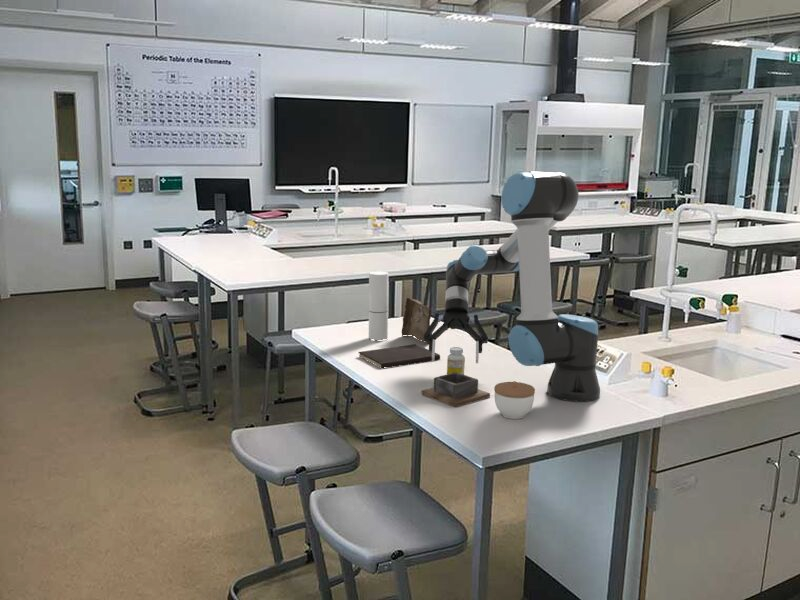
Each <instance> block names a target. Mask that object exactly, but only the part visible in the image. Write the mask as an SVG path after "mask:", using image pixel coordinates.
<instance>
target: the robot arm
mask: <svg viewBox="0 0 800 600" xmlns="http://www.w3.org/2000/svg"><path fill="white" fill-rule="evenodd" d="M579 194H580V193H579V188H578V185H577V184H576V182H575V180H574V179H573V178H572V177H571V176H570V175H568V174H566V173H564V172H560V171H522V172H521V171H519V172H516V173H512V174H511V175H510V176H509V177H508V178H507V180H506V182H504V185H503V187H502V193H501V206H502V208H503V210H504V212H505V213H506V214H508V215H509V216H510V220H511V223H512V224H513V225H514V226H515V227H516V230H515V231H514V232H513V233H512V234H510V236H509V237H508V238H507V240H505V242H504V243H503V244H502V245H501V246H500V247H499V248H498V249H493V250H492V249H491V250H490V249H488V250H485V249H484V248H483V246H478V245H476V244H475V245H470V246H469V247H467V248H466V250H464V251H463V252H462V254H461V256H460V257H459V258H458V259H455V260H452V261H449V262H448V264H447V266H446V271H445V294H444V295H445V296H444V297H445V304H444V314H443V315H440V314H439V313H438V312H437V313H435V314H434V318H433V320H432V322H431V324H430V326H429V328H428V329H427V331H426V333H425V334H424V341H428V342H429V344H428V350H429V351H432V361H431V362H432V363H434V362H435V361H434V359H435V353H436V341H437V339H438V338H439V337H441V335H442V334H444V333H445V332H446V331H448V330H449V329H451V330H462V329H463V331H465V332H467V334H468V335H469V336H470V337H471V338H472V339H473V340H474V342H475V364H479V358H480V357H479V354H483V353H482V352H483V345H484V344H487V343H488V342H489V337H488V335H487V333H486V331H485V330H484V328H483V326H482V325H481V322H480V321H479V315H478V314H474V315H473V316H469V285H470V282H471V281H472V280H473V279H474V277H476V276H477V275H487V274H500V273H501V274H502V273H508V274H510V273H514V272H517V271H519V273H518V274H519V289H520V292H519V293H520V309H521V311H520V313H519V315H518V316H517V317H516V318H515V319H516V320H515V321H516V325H514V326H513V327H511V329H510V331H509V334H508V346H509V349H510V352H511V354H512V356H513V357H514V358H515V360H516V361H517V363H519V364H521V365H522V366H525V367H540V366H542V365H543V366H544V365H551V364H554V367H553V370H552V373H551V374H550V377H549V379H548V382H547V388H546V389H547V390H546V392H547V394H548V395H550V396H552V397H553V396H554V398H555V399H559V400H563V401H570V402H590V401H594V400H597V399H599V398H600V397H601V396H600V395H601V386H600V383H599V380H598V375H597V370H596V366H597V353H598V351H597V350H598V338H599V324H598V322H597V321H596V320H594V319H592V318H589V317H587V316H586V317H585V316H581V315H577V314H576V315H575V314H563V313H562V314H561V313H560V314H556V313H555V312H554V310H553V298H552V297H553V296H552V278H551V277H552V276H551V275H552V274H551V259H550V258H551V257H550V256H551V255H550V236H549V232H550V230H551V229H552V228H553V227H554V226H555V225H557V223H558V222H559V223H560V222H563V221H565V220H566V219H567V218H568V217H569V216H570V215H571V214H572V213H573V212H574V210H575V209H576V207H577V205H578V201H579ZM441 321H443V323H442V325H440V327H438V328H437V326H438V324H439V323H440V322H441ZM469 322H471V323H472V324H474V327H475V329H476V331H475V329H474V328H473V327H472V326H471V325H470V324H469ZM436 328H437V330H436ZM434 330H435V331H434ZM431 334H432V335H431ZM430 335H431V336H430Z"/></svg>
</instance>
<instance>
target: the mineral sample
mask: <svg viewBox="0 0 800 600" xmlns="http://www.w3.org/2000/svg"><path fill="white" fill-rule="evenodd" d="M404 308H405V309H404V311H403V317H402V327H401V337H402V336H403V335H412V336H415V337H416V338H417V339H419V340H422V341H421V342H423V341H424V334H425V333H426V331H427V329H428V328H429V326H430V325H431V324H430V322H431V317H432V316H431V314H432V309H431V308H429V306H426V305H425V304H424V303H423V302H421V301H420V300H418V299H413V298H408V297H407V298H406V300H405V305H404ZM432 334H433V333H432ZM432 334H431V335H432ZM431 335H430V336H431ZM419 340H418V341H419ZM424 343H425V346H426V345H427V344H428V345H429V342H428V341H425V342H424Z"/></svg>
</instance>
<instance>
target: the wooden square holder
mask: <svg viewBox="0 0 800 600" xmlns="http://www.w3.org/2000/svg"><path fill="white" fill-rule="evenodd" d="M420 394H422V396H425V397H427V398H430V399H432V400H435V401H437V402H441V403H443V404H445V405H449V406H451V407H454V408H458V407H462V406H465V405H468V404H473V403H475V402H479V401H481V400H485V399H488V398H491V397H490V396H491V392H487V391H484V390H482V389H479V379H478V378H475V377H472V376H469V375H465V374H464V375H463V374H460V373H457V372H455V373H451V374H447V373H446V374H444V375H440V376H435V377H433V386H432V387H430V388H426V389H422V390H420Z"/></svg>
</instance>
